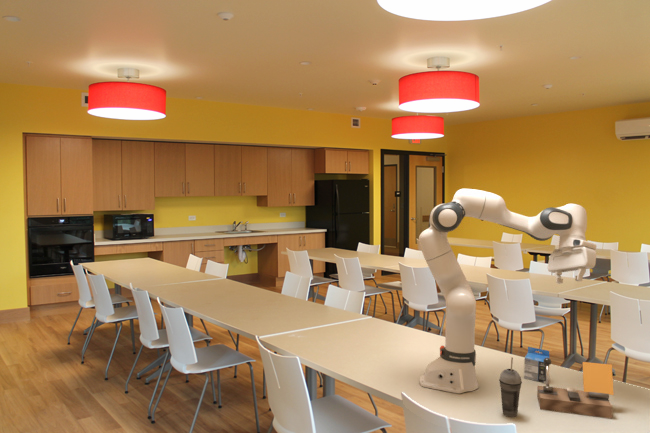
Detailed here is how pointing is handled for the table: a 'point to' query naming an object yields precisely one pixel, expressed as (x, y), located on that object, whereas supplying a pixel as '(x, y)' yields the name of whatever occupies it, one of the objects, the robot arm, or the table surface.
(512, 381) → the beverage cup
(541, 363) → the label tape box
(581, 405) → the control panel
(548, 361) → the steel toggle lever
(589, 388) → the orange paddle
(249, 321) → the table surface
